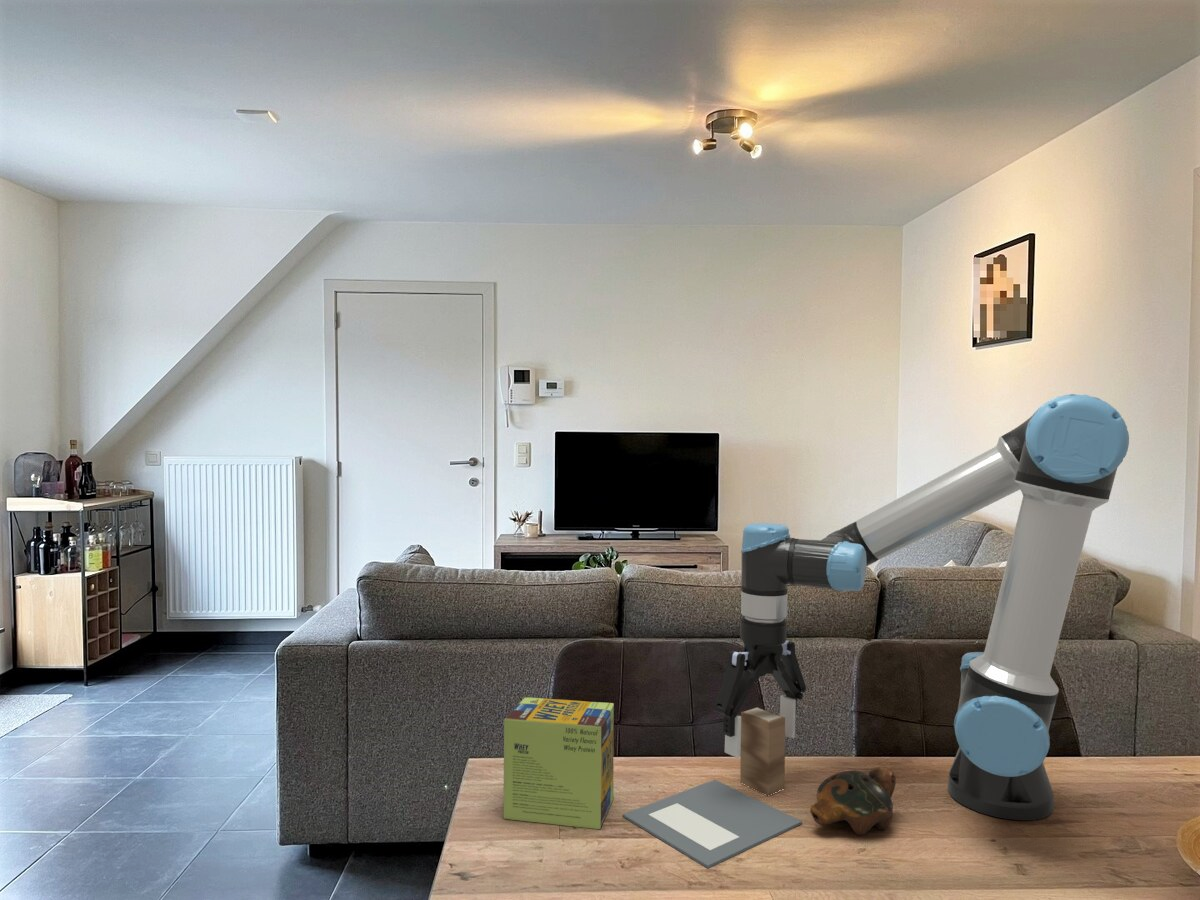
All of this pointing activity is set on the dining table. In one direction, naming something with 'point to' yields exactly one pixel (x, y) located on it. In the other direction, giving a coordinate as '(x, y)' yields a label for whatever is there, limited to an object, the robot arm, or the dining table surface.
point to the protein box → (559, 762)
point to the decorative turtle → (856, 799)
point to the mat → (711, 822)
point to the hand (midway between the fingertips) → (760, 745)
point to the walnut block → (762, 750)
